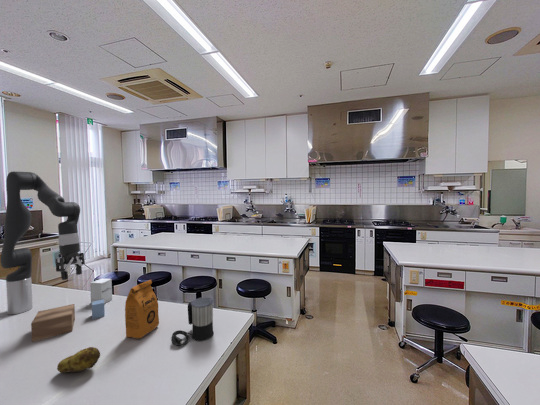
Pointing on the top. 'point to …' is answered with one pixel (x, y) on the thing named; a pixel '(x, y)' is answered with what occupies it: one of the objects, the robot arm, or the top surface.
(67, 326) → the walnut box
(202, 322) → the milk frother
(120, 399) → the top surface
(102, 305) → the slate block
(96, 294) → the supplement box
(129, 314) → the coffee package
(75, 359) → the potato
